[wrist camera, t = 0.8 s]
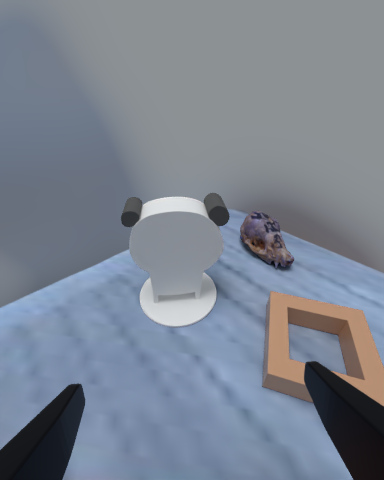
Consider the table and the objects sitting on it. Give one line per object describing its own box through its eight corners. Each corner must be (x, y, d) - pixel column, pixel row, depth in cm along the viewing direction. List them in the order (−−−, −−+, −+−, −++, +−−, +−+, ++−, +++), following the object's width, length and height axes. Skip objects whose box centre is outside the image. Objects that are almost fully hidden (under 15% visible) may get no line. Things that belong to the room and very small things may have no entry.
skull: (302, 270, 36) (313, 240, 33) (258, 277, 35) (265, 247, 32) (268, 231, 46) (273, 205, 42) (233, 236, 45) (236, 209, 41)
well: (382, 425, 20) (400, 414, 18) (262, 386, 22) (267, 373, 21) (352, 325, 28) (362, 310, 26) (266, 305, 30) (270, 291, 29)
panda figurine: (213, 264, 38) (217, 180, 29) (228, 322, 28) (241, 224, 20) (143, 270, 37) (125, 185, 28) (136, 331, 28) (106, 234, 19)
